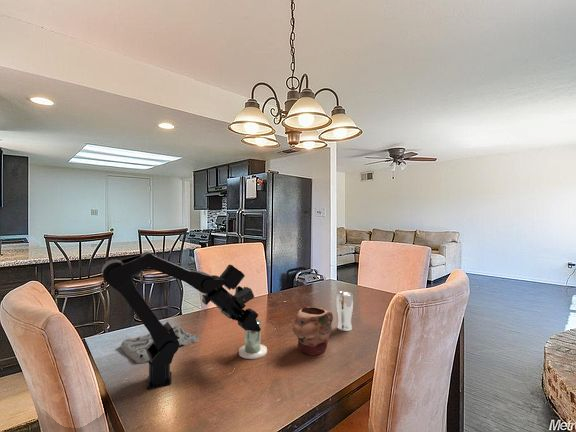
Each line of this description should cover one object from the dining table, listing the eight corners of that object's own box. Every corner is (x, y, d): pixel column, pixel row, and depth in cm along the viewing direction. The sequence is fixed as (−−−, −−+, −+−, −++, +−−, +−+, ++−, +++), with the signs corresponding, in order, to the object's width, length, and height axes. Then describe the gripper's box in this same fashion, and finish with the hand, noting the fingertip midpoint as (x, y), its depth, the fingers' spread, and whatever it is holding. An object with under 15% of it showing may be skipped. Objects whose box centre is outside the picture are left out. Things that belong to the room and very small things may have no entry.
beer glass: (356, 328, 123) (356, 293, 123) (347, 333, 118) (347, 296, 118) (342, 323, 128) (342, 290, 128) (333, 328, 123) (333, 293, 122)
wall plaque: (139, 366, 93) (139, 354, 93) (118, 348, 105) (118, 338, 105) (203, 342, 110) (203, 332, 110) (179, 329, 123) (179, 320, 123)
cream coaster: (270, 355, 99) (270, 353, 99) (242, 361, 95) (242, 359, 95) (262, 343, 108) (262, 341, 108) (236, 348, 104) (236, 346, 104)
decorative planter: (317, 334, 117) (317, 300, 116) (343, 343, 108) (343, 306, 108) (284, 351, 102) (284, 312, 102) (311, 363, 94) (311, 321, 94)
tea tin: (260, 353, 99) (260, 324, 99) (243, 353, 99) (243, 324, 98) (261, 346, 104) (261, 318, 104) (245, 346, 104) (245, 318, 104)
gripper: (252, 286, 91) (281, 314, 97) (229, 276, 106) (255, 301, 113) (229, 316, 86) (261, 343, 93) (208, 301, 102) (236, 325, 108)
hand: (253, 326), depth 102 cm, fingers open, 9 cm apart
